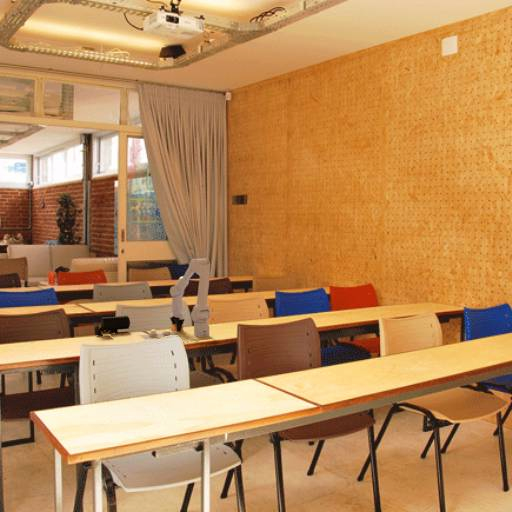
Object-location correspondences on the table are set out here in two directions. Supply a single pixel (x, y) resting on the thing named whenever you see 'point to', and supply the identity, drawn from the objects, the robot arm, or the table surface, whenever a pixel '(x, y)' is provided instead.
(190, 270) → the robot arm
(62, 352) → the table surface
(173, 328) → the orange block
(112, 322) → the security camera
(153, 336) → the breaker panel
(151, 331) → the button
